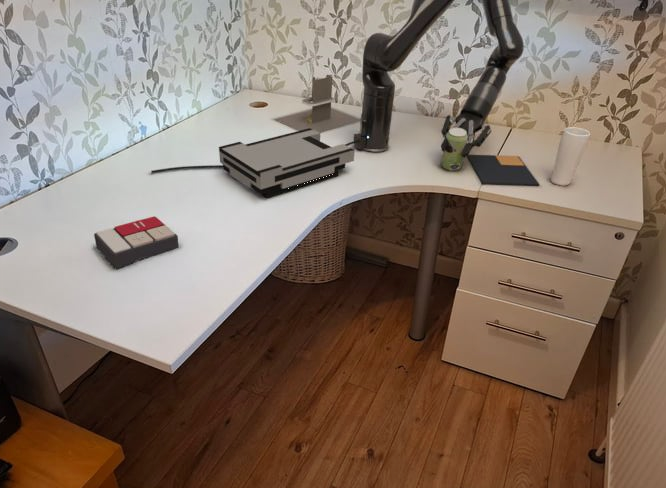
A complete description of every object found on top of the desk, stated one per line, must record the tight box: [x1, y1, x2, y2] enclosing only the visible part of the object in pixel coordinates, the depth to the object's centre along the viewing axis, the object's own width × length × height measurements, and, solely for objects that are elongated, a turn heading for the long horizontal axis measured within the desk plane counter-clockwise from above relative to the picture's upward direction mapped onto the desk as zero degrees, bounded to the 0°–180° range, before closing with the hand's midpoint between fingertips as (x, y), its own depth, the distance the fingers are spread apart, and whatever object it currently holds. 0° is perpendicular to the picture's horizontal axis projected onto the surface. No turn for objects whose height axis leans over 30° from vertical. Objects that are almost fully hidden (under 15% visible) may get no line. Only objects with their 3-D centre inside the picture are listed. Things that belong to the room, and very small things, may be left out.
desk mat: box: [466, 154, 540, 187], centre depth 158 cm, size 16×20×1 cm
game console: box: [218, 128, 356, 200], centre depth 150 cm, size 21×32×8 cm, turn 127°
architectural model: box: [273, 74, 361, 134], centre depth 185 cm, size 20×25×15 cm
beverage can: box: [440, 127, 469, 172], centre depth 154 cm, size 6×7×12 cm
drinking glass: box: [550, 126, 591, 187], centre depth 147 cm, size 7×7×15 cm
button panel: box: [94, 215, 180, 269], centre depth 118 cm, size 11×4×15 cm
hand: (452, 153), depth 153 cm, fingers closed on beverage can, 5 cm apart
